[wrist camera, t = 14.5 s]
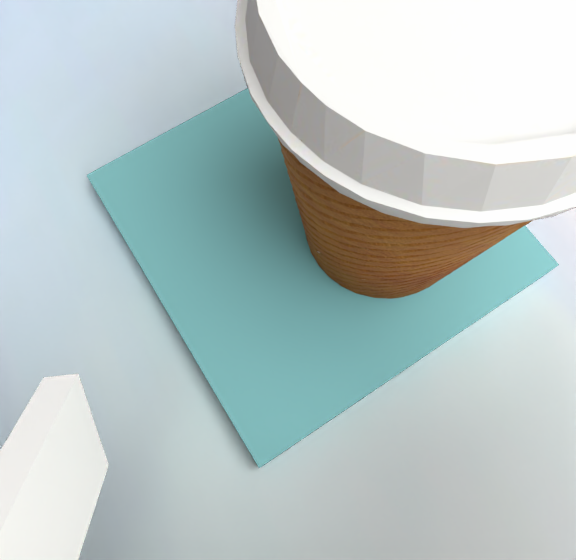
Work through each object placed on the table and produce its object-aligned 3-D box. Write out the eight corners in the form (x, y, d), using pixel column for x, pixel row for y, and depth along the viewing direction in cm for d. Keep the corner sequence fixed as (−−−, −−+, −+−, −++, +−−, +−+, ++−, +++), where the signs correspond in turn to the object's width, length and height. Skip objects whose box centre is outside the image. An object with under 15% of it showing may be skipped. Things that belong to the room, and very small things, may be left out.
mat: (95, 186, 23) (86, 175, 22) (353, 45, 25) (355, 29, 24) (260, 467, 19) (259, 468, 18) (547, 273, 22) (558, 264, 21)
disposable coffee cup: (431, 388, 19) (628, 298, 8) (220, 259, 21) (125, 31, 9) (538, 191, 22) (808, -99, 10) (340, 91, 23) (381, -253, 12)
